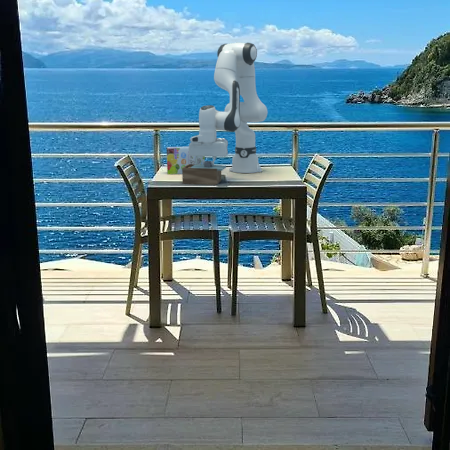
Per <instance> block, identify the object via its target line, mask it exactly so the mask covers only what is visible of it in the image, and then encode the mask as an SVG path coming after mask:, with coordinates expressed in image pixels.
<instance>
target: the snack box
mask: <svg viewBox="0 0 450 450" xmlns="http://www.w3.org/2000/svg"><path fill="white" fill-rule="evenodd" d="M188 150H189V146H167V147H166V171H167V172H166V173H167V175H182V168H183V167H184V166H186V165H188V164H198V165H202V161H201V159H200V156H190V155H189V154H188ZM205 158H206V156H204V158H203V160H204V161H206V160H205Z"/></svg>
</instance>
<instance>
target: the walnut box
mask: <svg viewBox="0 0 450 450" xmlns="http://www.w3.org/2000/svg"><path fill="white" fill-rule="evenodd" d="M194 165H198V164H188V165H186V166H184V167H183V168H182V174H181V176H182V177H181V178H182V184H183V185H213V186H217V185H218V184H220V182H222V171H220V170H217V169H213V168H191V167H192V166H194Z"/></svg>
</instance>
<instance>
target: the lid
mask: <svg viewBox="0 0 450 450" xmlns="http://www.w3.org/2000/svg"><path fill="white" fill-rule="evenodd" d="M205 161H206V162H204V165H194V166H192V167H191V168H213V169H217V170H220V171H221V172H222V171H224V170H225V169H226V168H227V166H226V165H222V164H214V165H211V161H212V160H205Z"/></svg>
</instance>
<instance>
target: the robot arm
mask: <svg viewBox="0 0 450 450" xmlns="http://www.w3.org/2000/svg"><path fill="white" fill-rule="evenodd" d="M216 55H217V59H216V64H215V69H214V72H213V73H214V74H213V81H214V82H215V85H216V86H218V87H219V88H220V89H222V90H225V91H226V92H228V94H229V103H227V104H226V105H225V108H224V111H221V110H220V111H219V110H217V109H216V107H215V106H214V105H212V104H211V105H209V104H208V105H202V106H201V107H200V108H199V112H198V125H199V130H198V134H196V135H194V136H191V137H190V138H189V140H190V141H189V145H188V147H189V150H188V154H189V155H190V156H200V159H201V161H202V165H204V162H206V161H207V160H205V161H204V160H203V158H204V156H205V157H212V160H210V161H211V165H215V161H216V159H217V157H218V158H219V157H220V158H221V157H222V158H225V157H227V156H228V153H229V152H228V145H229V142H228V140H227V139H226V138H225V137H224V138H220V137H217V131H222V132H223V131H225V132H230V133H235V146H234V148H235V149H234V155H233V156H232V161H231V164H232V165H231V167H230V168H229V170H228V171H229V172H232V173H233V172H234V173H238V174H254V173H261V172H263V170H262V167H261V166H260V163H259V157H258V155H257V146H256V133H255V131H254V130H253V129H252V128H250V127H249V125H248V123H260V122H264V121H265V120H266V119H267V117H268V107H267V105H265V104H264V102H262V101H261V100H260V98H259V96H258V94H257V93H258V92H257V87H256V68H255V61H256V60H257V57H258V56H257V55H258V50H257V47H256V45H255V44H254V43H251V42H232V43H224V44H221V45H220V46H219V47H218V49H217V53H216ZM241 98H242V99H243V101H241V100H240V99H241Z"/></svg>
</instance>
